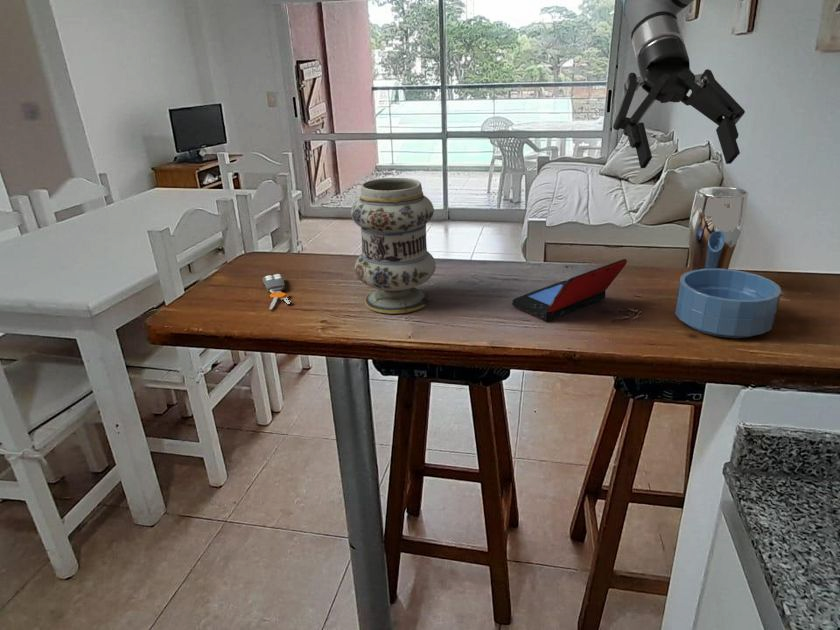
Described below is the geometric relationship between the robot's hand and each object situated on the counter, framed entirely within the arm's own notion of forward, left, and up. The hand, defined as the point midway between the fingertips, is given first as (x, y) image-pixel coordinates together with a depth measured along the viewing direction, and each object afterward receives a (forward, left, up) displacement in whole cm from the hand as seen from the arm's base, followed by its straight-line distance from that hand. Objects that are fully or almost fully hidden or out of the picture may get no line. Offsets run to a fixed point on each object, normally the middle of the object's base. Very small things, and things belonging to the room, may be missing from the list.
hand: (689, 161), depth 88 cm
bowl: (+7, +20, -17) cm, 27 cm away
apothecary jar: (+47, -1, -18) cm, 50 cm away
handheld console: (+24, +9, -18) cm, 31 cm away
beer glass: (+2, +10, -18) cm, 20 cm away
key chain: (+65, -10, -18) cm, 68 cm away
